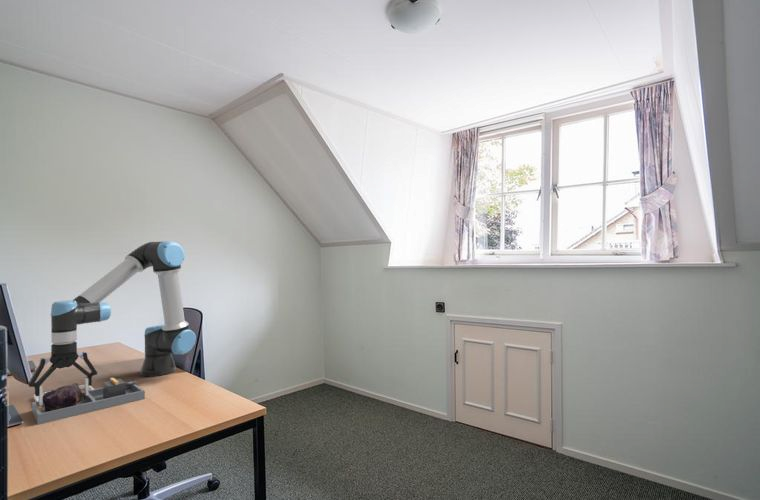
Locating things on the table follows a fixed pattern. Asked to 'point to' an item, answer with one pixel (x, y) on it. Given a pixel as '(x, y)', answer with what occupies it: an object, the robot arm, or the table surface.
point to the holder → (93, 400)
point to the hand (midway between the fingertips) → (64, 399)
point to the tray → (49, 391)
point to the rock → (62, 397)
